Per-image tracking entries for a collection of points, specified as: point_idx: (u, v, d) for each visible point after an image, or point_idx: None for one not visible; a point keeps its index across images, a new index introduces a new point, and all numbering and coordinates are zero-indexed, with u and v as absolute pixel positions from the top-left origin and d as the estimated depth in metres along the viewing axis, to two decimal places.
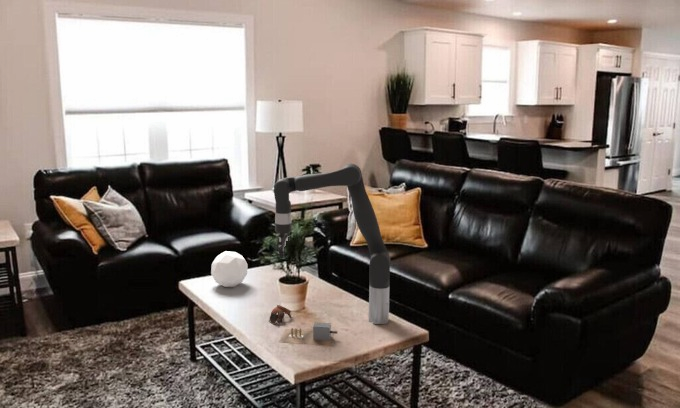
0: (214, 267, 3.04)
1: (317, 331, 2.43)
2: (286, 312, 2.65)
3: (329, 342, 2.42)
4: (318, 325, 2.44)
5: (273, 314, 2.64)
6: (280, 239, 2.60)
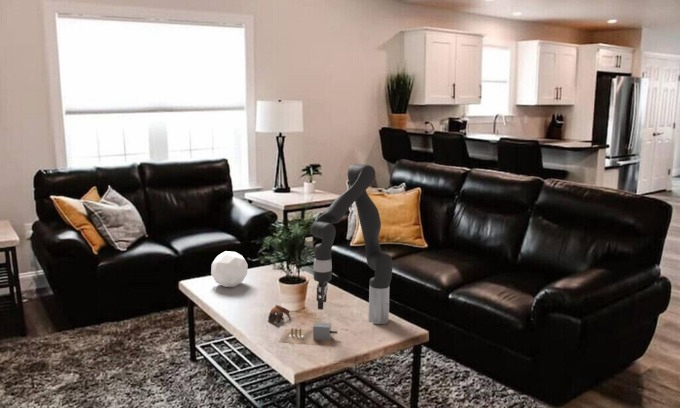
0: (214, 267, 3.04)
1: (317, 331, 2.43)
2: (285, 312, 2.65)
3: (329, 342, 2.42)
4: (318, 325, 2.44)
5: (272, 314, 2.64)
6: (320, 289, 2.34)
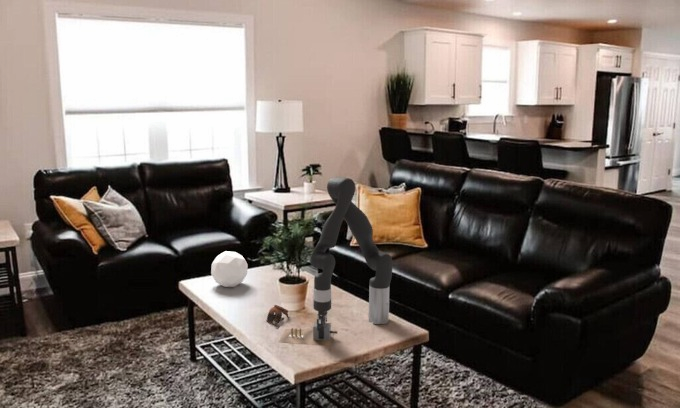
0: (214, 267, 3.04)
1: (317, 331, 2.43)
2: (283, 312, 2.65)
3: (329, 342, 2.42)
4: None
5: (270, 314, 2.64)
6: (320, 321, 2.37)
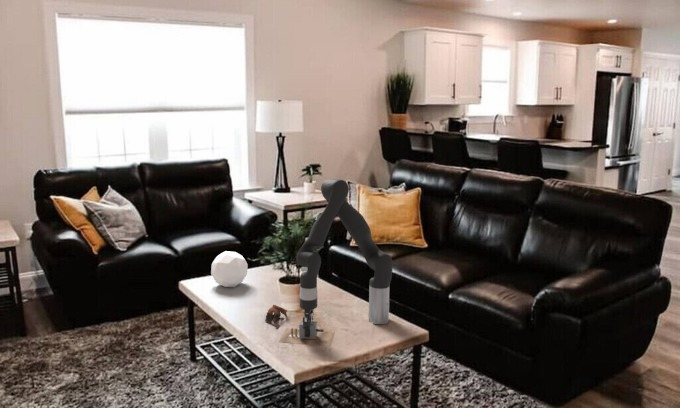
0: (214, 267, 3.04)
1: (303, 329, 2.44)
2: (282, 312, 2.65)
3: (329, 342, 2.42)
4: None
5: (269, 314, 2.64)
6: (306, 320, 2.38)
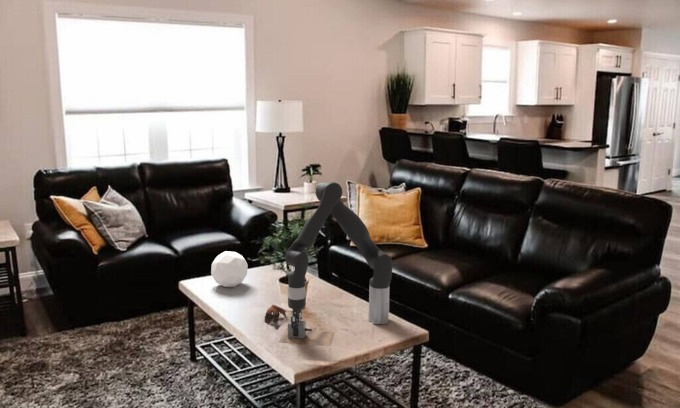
0: (214, 267, 3.04)
1: (292, 329, 2.44)
2: (281, 312, 2.65)
3: (329, 342, 2.42)
4: None
5: (268, 314, 2.64)
6: (294, 319, 2.39)
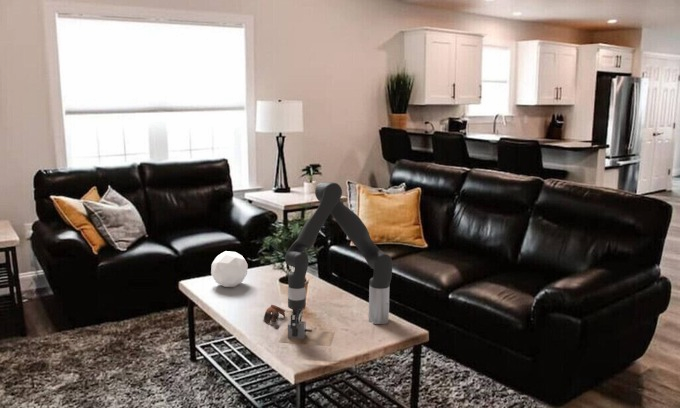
0: (214, 267, 3.04)
1: None
2: (280, 312, 2.65)
3: (329, 342, 2.42)
4: (293, 324, 2.45)
5: (267, 314, 2.64)
6: (293, 317, 2.38)
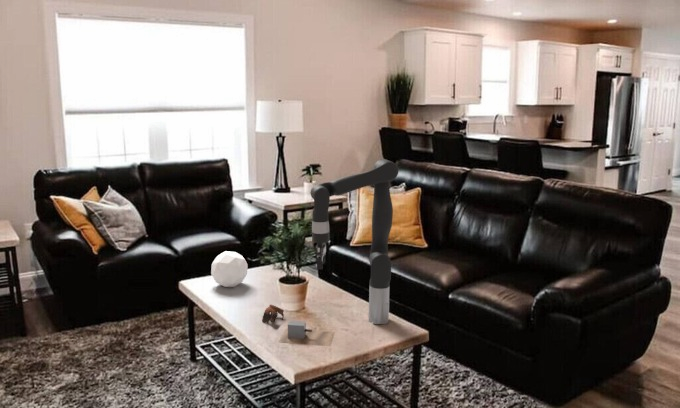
0: (214, 267, 3.04)
1: (292, 329, 2.45)
2: (279, 311, 2.65)
3: (329, 342, 2.42)
4: (293, 324, 2.45)
5: (266, 314, 2.65)
6: (319, 249, 2.47)
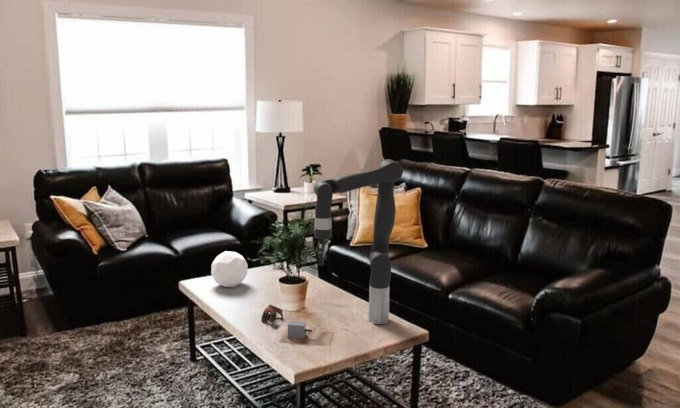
0: (214, 267, 3.04)
1: (292, 329, 2.45)
2: (278, 311, 2.65)
3: (329, 342, 2.42)
4: (293, 324, 2.45)
5: (265, 314, 2.65)
6: (320, 245, 2.47)
